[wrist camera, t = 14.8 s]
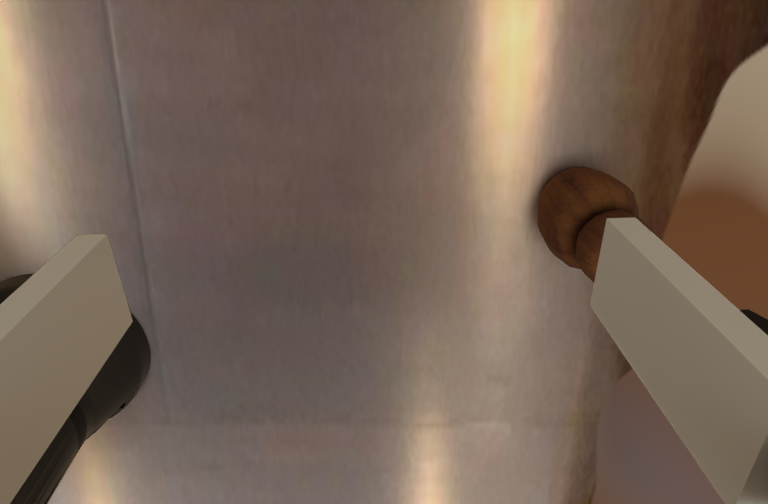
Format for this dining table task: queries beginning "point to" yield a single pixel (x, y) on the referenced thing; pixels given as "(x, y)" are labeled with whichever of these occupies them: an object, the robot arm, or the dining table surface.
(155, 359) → the dining table surface
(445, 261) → the dining table surface
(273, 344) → the dining table surface
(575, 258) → the wooden figurine
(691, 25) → the dining table surface
